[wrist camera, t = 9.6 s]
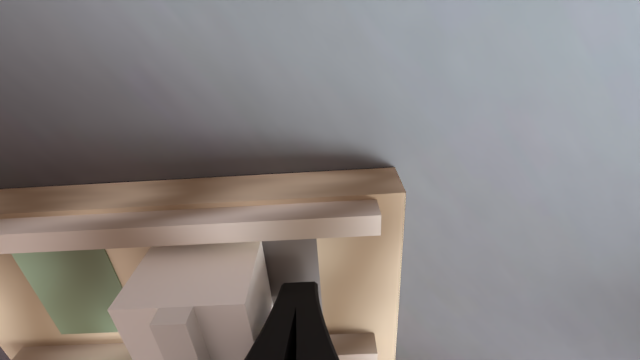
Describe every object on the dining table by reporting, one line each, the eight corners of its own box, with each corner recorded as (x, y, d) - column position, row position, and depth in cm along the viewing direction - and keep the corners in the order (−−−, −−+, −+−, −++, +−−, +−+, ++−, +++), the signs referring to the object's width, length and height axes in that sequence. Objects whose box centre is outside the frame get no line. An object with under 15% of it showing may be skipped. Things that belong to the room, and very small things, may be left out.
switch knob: (261, 238, 12) (240, 321, 9) (277, 331, 15) (265, 423, 11) (152, 244, 12) (95, 327, 9) (186, 335, 15) (149, 427, 12)
